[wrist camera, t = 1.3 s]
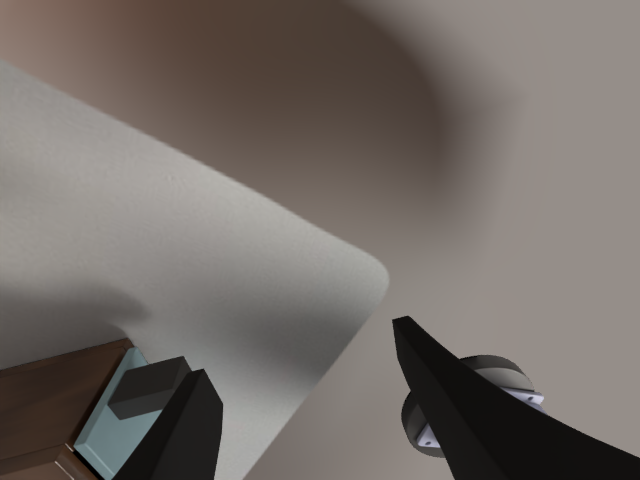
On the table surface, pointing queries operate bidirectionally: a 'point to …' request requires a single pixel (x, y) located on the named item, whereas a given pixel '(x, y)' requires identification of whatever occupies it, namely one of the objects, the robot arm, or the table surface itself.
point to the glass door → (128, 410)
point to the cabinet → (53, 412)
